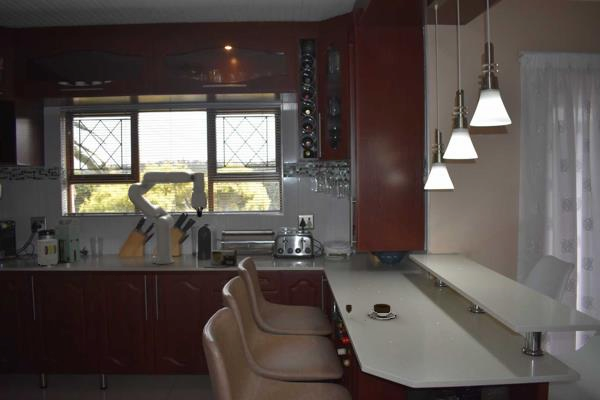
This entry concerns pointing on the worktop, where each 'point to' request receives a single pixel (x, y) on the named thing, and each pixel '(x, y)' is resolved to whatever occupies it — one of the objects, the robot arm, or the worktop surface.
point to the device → (67, 239)
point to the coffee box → (223, 257)
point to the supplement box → (47, 251)
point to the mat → (215, 266)
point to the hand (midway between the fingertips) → (199, 217)
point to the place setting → (377, 308)
